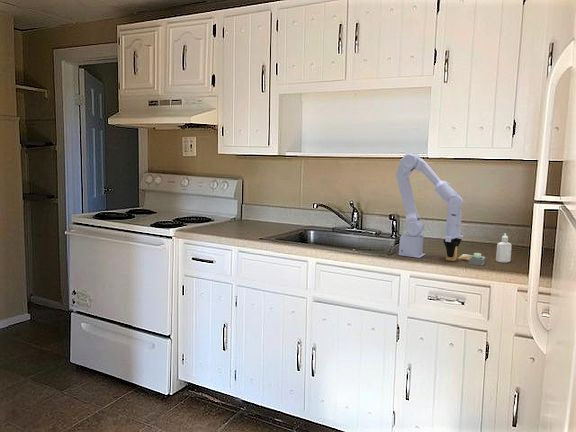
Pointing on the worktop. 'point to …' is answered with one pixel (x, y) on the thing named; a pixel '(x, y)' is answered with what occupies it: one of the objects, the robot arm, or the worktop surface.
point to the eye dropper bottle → (503, 250)
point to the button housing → (477, 261)
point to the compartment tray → (465, 257)
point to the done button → (477, 255)
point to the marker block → (453, 256)
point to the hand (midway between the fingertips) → (451, 256)
